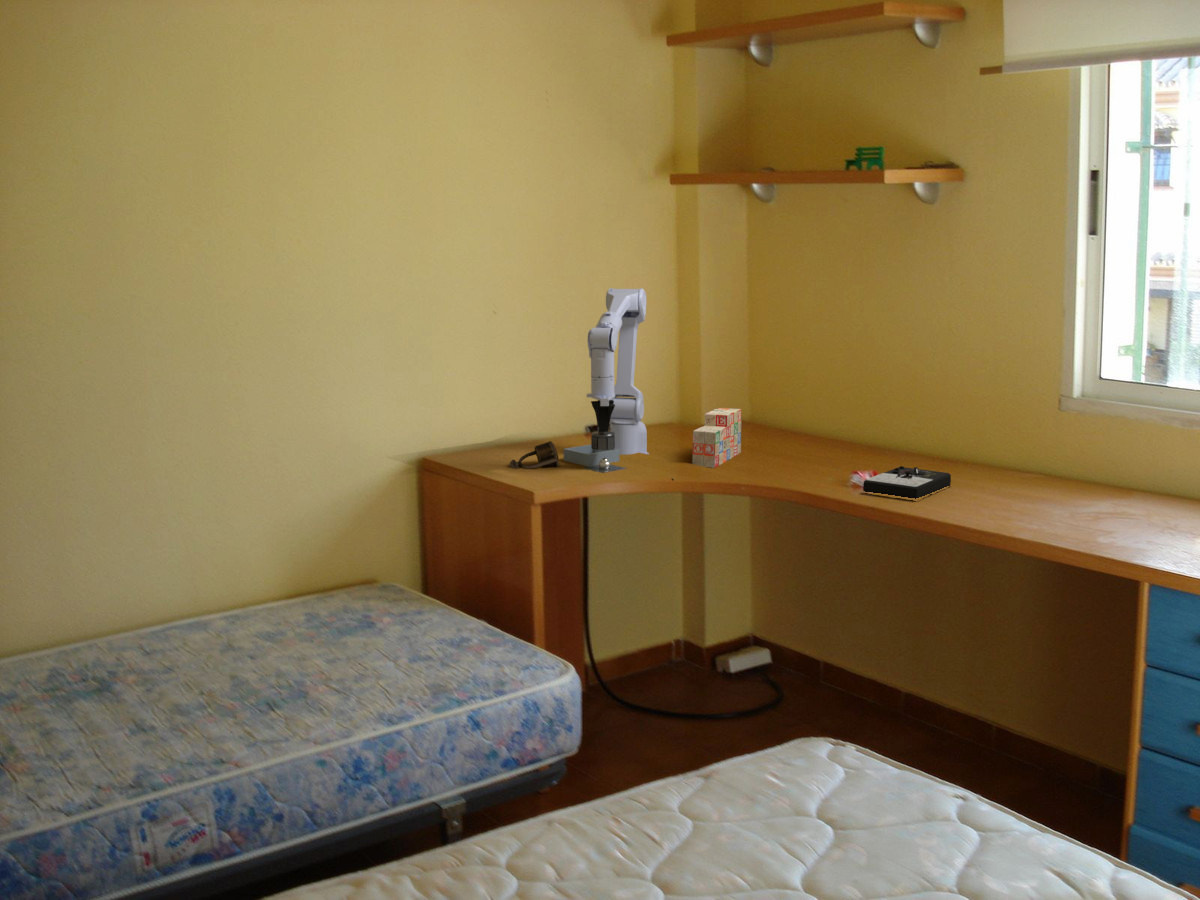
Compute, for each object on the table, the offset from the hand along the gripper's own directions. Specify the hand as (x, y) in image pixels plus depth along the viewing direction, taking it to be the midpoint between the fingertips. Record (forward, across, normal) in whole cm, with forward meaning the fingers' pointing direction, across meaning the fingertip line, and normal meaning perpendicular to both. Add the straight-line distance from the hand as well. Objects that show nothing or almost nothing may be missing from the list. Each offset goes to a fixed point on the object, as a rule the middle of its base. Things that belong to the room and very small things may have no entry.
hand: (603, 430), depth 306 cm
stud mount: (+10, +1, 0) cm, 10 cm away
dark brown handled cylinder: (+11, -4, -17) cm, 20 cm away
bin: (+10, -9, -3) cm, 14 cm away
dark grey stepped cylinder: (+4, 0, 0) cm, 4 cm away
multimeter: (+11, +28, +69) cm, 75 cm away
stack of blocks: (+11, -12, +30) cm, 35 cm away
